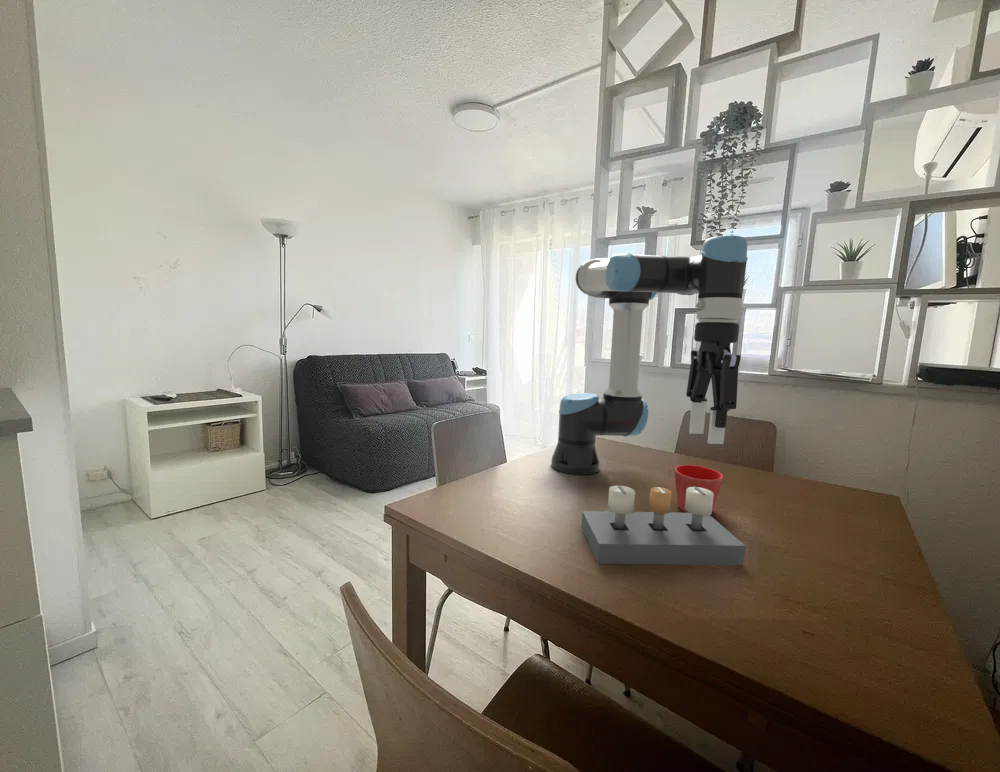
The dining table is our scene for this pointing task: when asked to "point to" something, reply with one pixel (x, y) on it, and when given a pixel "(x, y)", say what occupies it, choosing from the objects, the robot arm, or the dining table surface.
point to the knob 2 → (698, 505)
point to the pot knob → (659, 505)
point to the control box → (660, 540)
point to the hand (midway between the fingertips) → (705, 437)
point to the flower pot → (696, 481)
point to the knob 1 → (621, 503)
